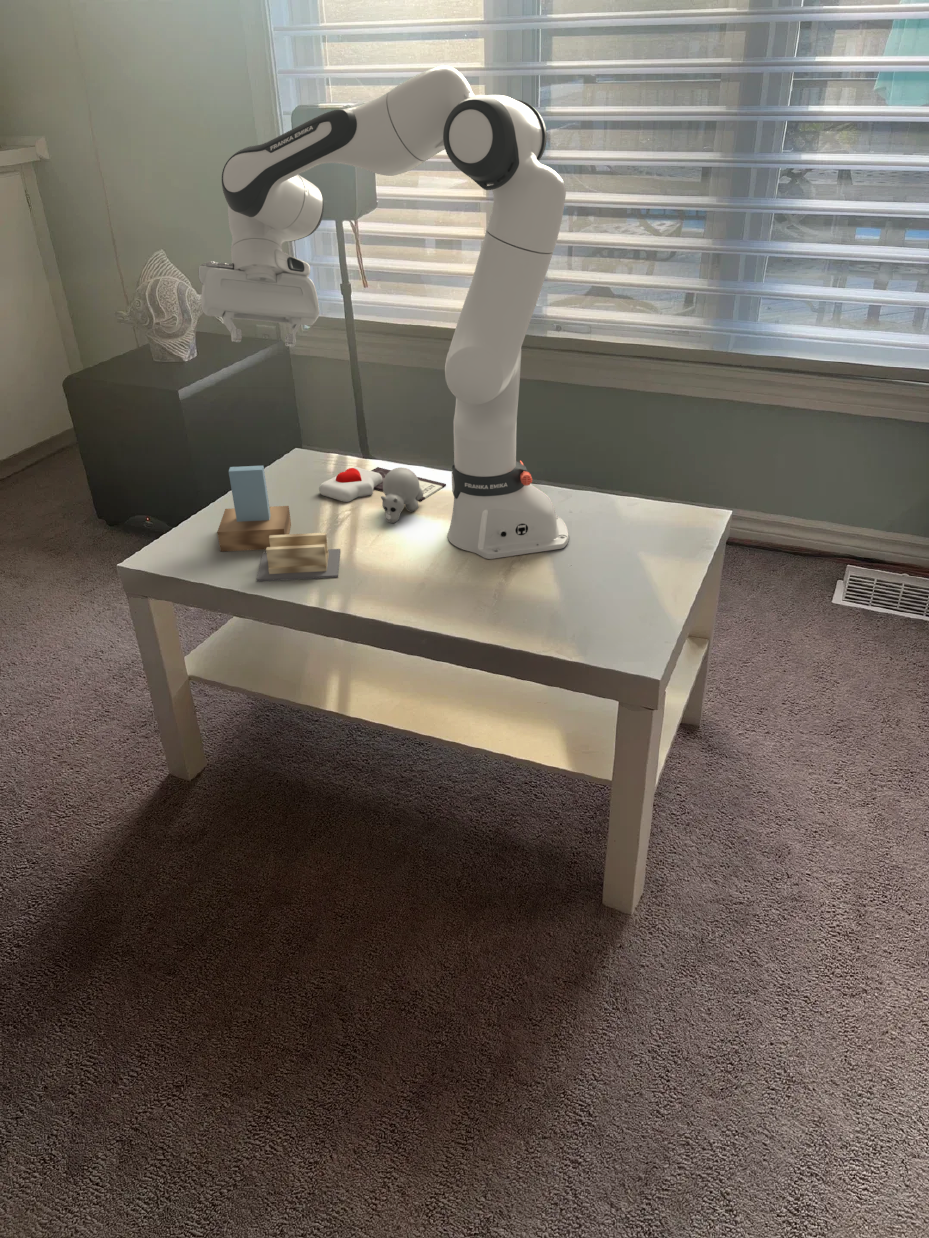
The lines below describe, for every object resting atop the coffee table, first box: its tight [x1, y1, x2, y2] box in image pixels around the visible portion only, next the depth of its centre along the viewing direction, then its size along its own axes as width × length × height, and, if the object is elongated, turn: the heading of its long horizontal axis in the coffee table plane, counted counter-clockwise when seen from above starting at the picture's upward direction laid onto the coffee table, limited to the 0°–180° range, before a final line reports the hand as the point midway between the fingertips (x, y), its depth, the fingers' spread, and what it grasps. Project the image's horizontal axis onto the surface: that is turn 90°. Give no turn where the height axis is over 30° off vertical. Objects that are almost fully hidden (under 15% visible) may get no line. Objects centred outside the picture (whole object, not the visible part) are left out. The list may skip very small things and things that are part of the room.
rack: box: [265, 532, 329, 574], centre depth 162 cm, size 10×7×5 cm, turn 94°
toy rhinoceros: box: [380, 467, 423, 524], centre depth 179 cm, size 7×12×8 cm, turn 159°
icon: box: [318, 466, 382, 503], centre depth 190 cm, size 12×4×10 cm
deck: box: [216, 505, 292, 552], centre depth 172 cm, size 12×10×4 cm
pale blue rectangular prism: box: [228, 465, 271, 522], centre depth 168 cm, size 6×2×10 cm, turn 94°
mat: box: [255, 548, 341, 582], centre depth 163 cm, size 14×10×1 cm
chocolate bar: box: [370, 466, 447, 502], centre depth 193 cm, size 9×1×18 cm
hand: (264, 343), depth 159 cm, fingers open, 8 cm apart
